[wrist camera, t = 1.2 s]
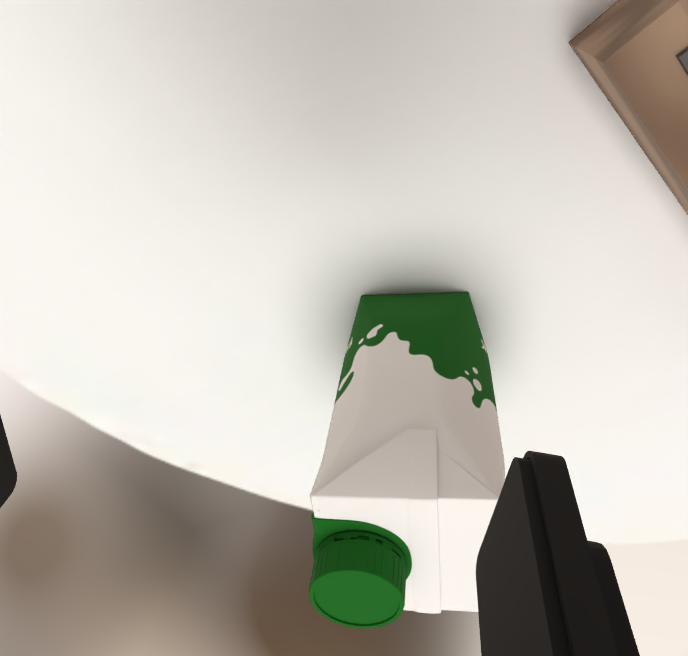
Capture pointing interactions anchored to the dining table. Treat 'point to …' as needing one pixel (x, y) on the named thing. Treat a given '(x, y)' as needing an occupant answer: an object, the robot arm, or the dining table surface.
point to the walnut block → (645, 78)
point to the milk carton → (406, 464)
